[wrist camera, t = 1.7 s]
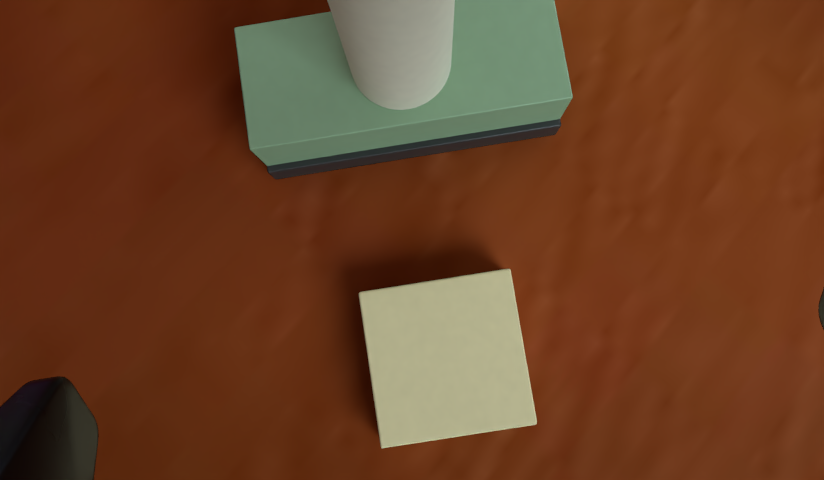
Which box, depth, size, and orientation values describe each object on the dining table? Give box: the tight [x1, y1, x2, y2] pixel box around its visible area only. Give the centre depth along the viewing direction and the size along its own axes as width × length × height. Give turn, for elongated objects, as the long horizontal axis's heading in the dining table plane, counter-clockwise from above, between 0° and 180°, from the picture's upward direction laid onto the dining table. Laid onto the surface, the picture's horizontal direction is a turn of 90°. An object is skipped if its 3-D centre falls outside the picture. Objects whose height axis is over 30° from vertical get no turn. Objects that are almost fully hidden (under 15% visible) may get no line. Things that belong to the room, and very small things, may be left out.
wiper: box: [234, 0, 573, 179], centre depth 16 cm, size 4×9×13 cm, turn 99°
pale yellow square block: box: [359, 269, 537, 448], centre depth 21 cm, size 4×4×1 cm
